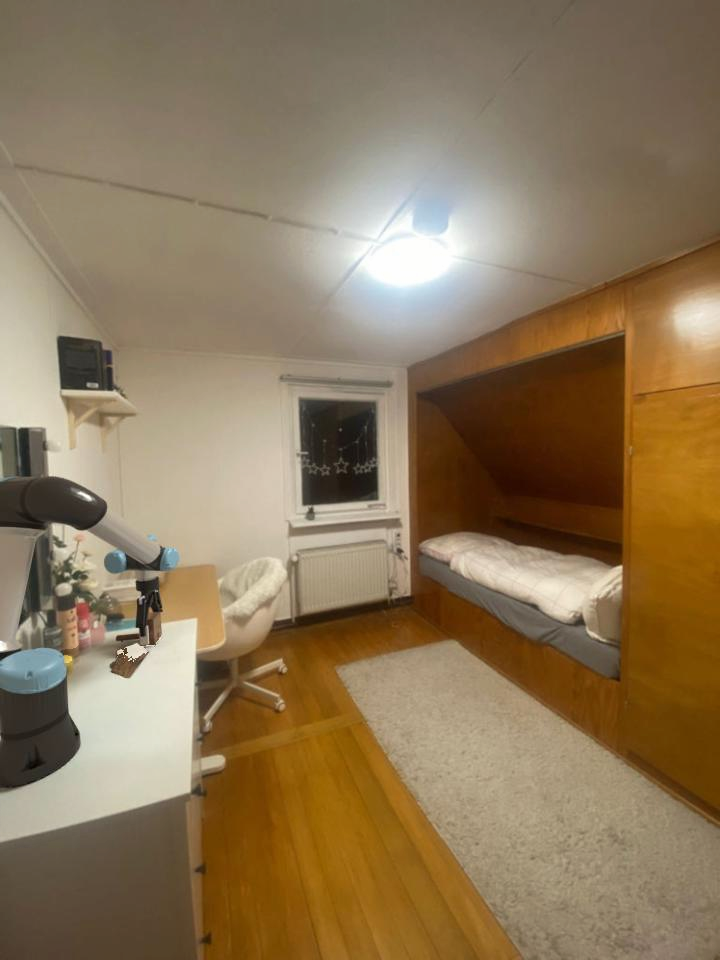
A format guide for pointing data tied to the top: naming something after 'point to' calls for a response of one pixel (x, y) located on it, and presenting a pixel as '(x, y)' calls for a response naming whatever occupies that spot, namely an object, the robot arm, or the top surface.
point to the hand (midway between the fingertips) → (151, 637)
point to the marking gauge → (153, 630)
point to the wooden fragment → (126, 664)
